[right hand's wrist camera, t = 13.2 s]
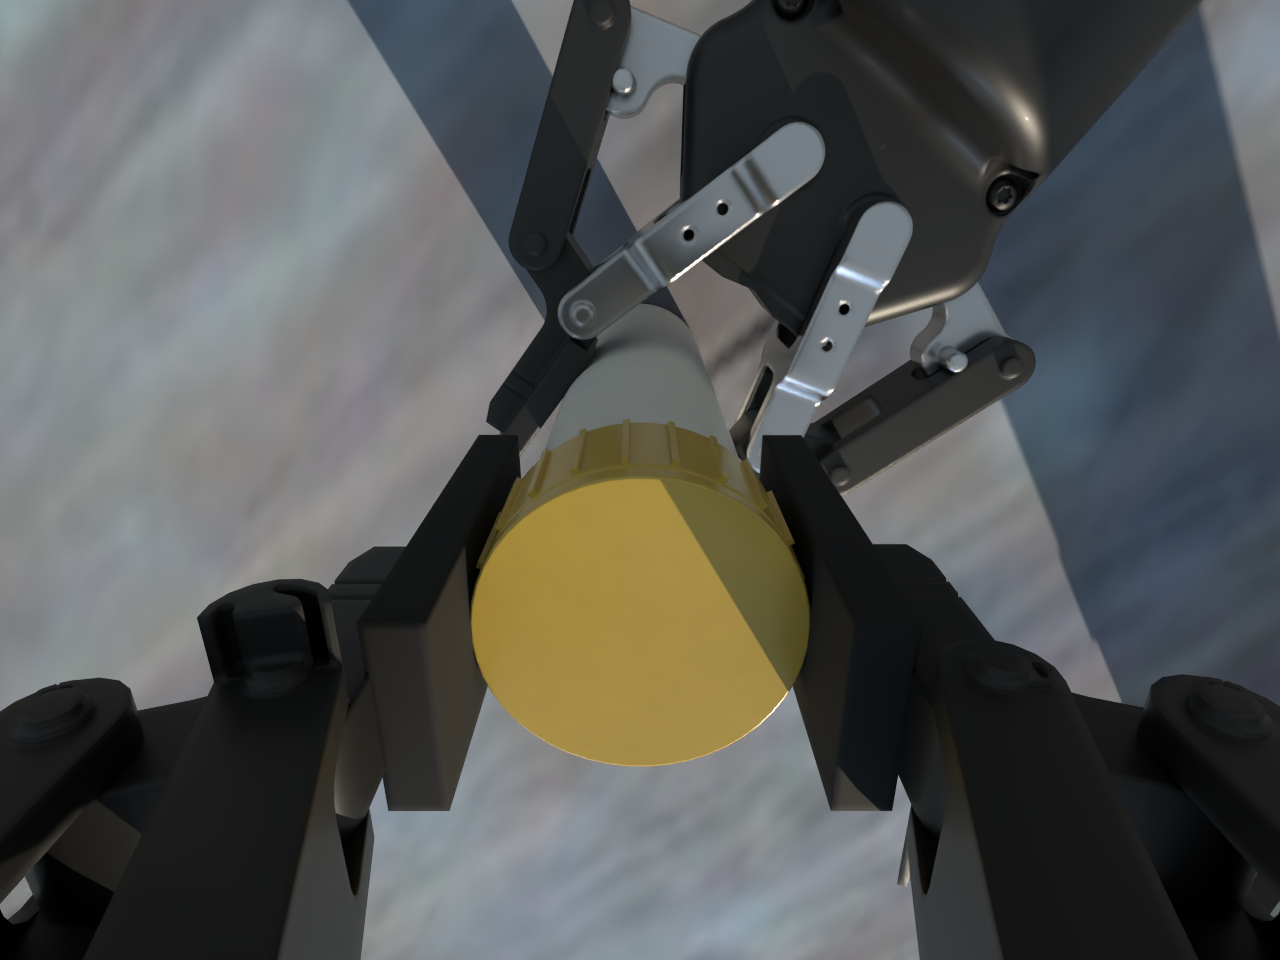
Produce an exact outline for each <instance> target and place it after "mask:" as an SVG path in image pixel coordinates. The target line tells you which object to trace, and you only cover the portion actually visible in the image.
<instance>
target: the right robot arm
mask: <svg viewBox="0 0 1280 960" xmlns="http://www.w3.org/2000/svg"><path fill="white" fill-rule="evenodd" d="M517 477H519V478H520V479H521V472H520V457H519V442H518V435H479V436H478V437H477V439H476V440H475V442H474V443H473V445H472V447H471V448H470V450H469V451H468V453H467V454H466V456H465V457H464V459H463V460H462V462H461V463H460V465H459V466H458V468H457V470H456V471H455V473H454V474H453V476H452V477H451V479H450V480H449V482H448V483H447V485H446V486H445V488H444V490H443V491H442V493H441V494H440V496H439V497H438V499H437V500H436V502H435V503H434V505H433V506H432V508H431V509H430V511H429V513H428V514H427V516H426V517H425V519H424V520H423V522H422V523H421V525H420V526H419V528H418V529H417V531H416V532H415V534H414V536H413V537H412V539H411V540H410V542H409V543H408V545H407V546H406V547H373V548H371V549H370V550H368V551H367V552H365V553H363V554H362V555H360V556H358V557H357V558H355V559H354V560H352V561H350V562H349V563H348V564H347V566H346V567H345V568H344V569H343V571H342V572H341V573H340V575H339V576H338V577H337V578H336V580H335V584H332V585H331V586H330V587H329V589H326V588H325V587H324V586H322V585H321V584H320V583H317V582H312V581H308V580H303V579H278V580H273V581H268V582H263V583H257V584H253V585H250V586H247V587H244V588H242V589H239V590H236V591H233V592H230V593H228V594H227V595H225V596H223V597H221V598H220V599H218V600H216V601H215V602H213V603H211V604H209V605H208V607H207V608H206V609H205V610H204V611H203V612H202V613H201V614H200V615H199V616H198V617H197V619H198V623H199V627H200V631H201V634H202V638H203V642H204V646H205V649H206V653H207V657H208V661H209V664H210V668H211V672H212V676H213V680H214V684H213V686H212V688H211V690H210V692H209V694H208V696H206V697H202V698H198V699H195V700H190V701H185V702H180V703H175V704H170V705H165V706H160V707H155V708H149V709H144V710H139V711H137V708H136V705H135V702H134V699H133V696H132V693H131V690H130V688H128V687H127V686H126V685H124V684H123V683H122V682H121V681H119V680H112V679H105V678H92V679H83V680H72V681H67V682H63V683H60V684H59V685H56V684H55V685H52V686H49V687H46V688H43V689H40V690H39V691H37V692H36V693H34V694H31V695H29V696H27V697H25V698H23V699H20V700H18V701H16V702H14V703H12V704H11V705H9V706H8V707H6V708H5V709H3V710H2V711H0V903H1V902H2V901H3V900H4V899H5V898H6V897H7V895H8V894H9V893H10V892H11V891H12V890H13V889H14V888H15V887H16V885H17V884H18V883H19V882H20V881H21V880H22V879H23V878H24V876H25V878H26V880H27V882H28V884H29V887H30V889H31V891H32V894H33V895H32V896H31V897H30V899H29V900H28V901H27V902H26V903H25V904H24V906H23V907H22V908H21V909H20V910H19V911H18V912H16V913H15V914H14V915H13V916H12V917H10V918H9V919H8V920H7V919H6V918H5V917H4V916H3V914H2V912H1V910H0V960H360V958H361V950H362V941H363V932H364V923H365V915H366V906H367V897H368V888H369V880H370V871H371V862H372V853H373V845H374V833H373V826H372V820H371V815H370V810H369V807H370V805H371V802H372V800H373V798H374V795H375V793H376V791H377V789H378V786H379V784H380V782H381V779H382V777H383V782H384V788H385V794H386V799H387V805H388V811H450V807H451V804H452V801H453V798H454V794H455V791H456V788H457V785H458V781H459V778H460V775H461V771H462V768H463V765H464V762H465V758H466V755H467V752H468V749H469V745H470V742H471V739H472V735H473V732H474V729H475V726H476V722H477V719H478V716H479V713H480V709H481V706H482V703H483V700H484V696H485V693H486V690H487V686H488V685H487V683H486V681H485V680H484V678H483V676H482V673H481V671H480V668H479V666H478V663H477V661H476V658H475V654H474V650H473V643H472V634H471V624H470V607H471V599H472V595H473V590H474V586H475V582H476V580H477V577H478V575H479V572H480V570H481V569H478V568H476V565H477V562H478V560H479V557H480V555H481V553H482V550H483V548H484V546H485V543H486V541H487V539H488V537H489V534H490V532H491V530H492V527H493V525H494V523H495V520H496V518H497V516H498V514H499V512H502V509H503V507H504V505H505V502H506V500H507V498H508V495H509V493H510V491H511V488H512V486H513V484H514V481H515V480H516V479H517ZM759 481H760V482H761V483H762V485H763V486H764V488H765V490H766V492H769V491H771V490H772V492H773V494H774V496H775V498H776V500H777V503H778V505H779V507H780V509H781V512H782V514H783V516H784V519H785V521H786V523H787V526H788V528H789V530H790V532H791V535H792V537H793V539H794V542H795V544H793V545H791V546H792V549H793V551H794V553H795V556H796V558H797V560H798V563H799V565H800V567H801V570H802V572H803V575H804V577H805V584H806V587H807V592H808V597H809V602H810V629H809V638H808V647H807V652H806V656H805V659H804V663H803V665H802V667H801V670H800V672H799V674H798V677H797V679H796V681H795V683H794V684H793V688H794V692H795V695H796V698H797V701H798V705H799V708H800V711H801V715H802V718H803V721H804V724H805V728H806V731H807V734H808V737H809V741H810V744H811V747H812V750H813V754H814V757H815V760H816V764H817V767H818V770H819V773H820V777H821V780H822V783H823V786H824V790H825V793H826V796H827V799H828V803H829V806H830V809H831V811H892V808H893V802H894V796H895V790H896V784H897V779H898V775H899V777H900V779H901V782H902V784H903V786H904V788H905V791H906V793H907V795H908V798H909V800H910V802H911V810H910V815H909V820H908V826H907V831H906V837H905V842H904V848H903V853H902V859H901V864H900V870H899V876H898V883H897V884H899V885H904V886H907V883H908V878H909V873H910V878H911V887H912V895H913V904H914V913H915V921H916V930H917V939H918V948H919V956H920V960H1280V911H1279V914H1278V915H1277V916H1276V917H1273V916H1271V915H1270V914H1269V913H1268V912H1267V911H1266V910H1265V909H1264V908H1263V907H1262V906H1261V905H1260V904H1259V903H1258V902H1257V901H1256V900H1255V898H1254V897H1253V896H1252V895H1251V894H1250V893H1249V890H1250V888H1251V886H1252V884H1253V881H1254V879H1255V877H1256V874H1257V873H1258V874H1259V875H1260V876H1261V877H1262V878H1263V879H1264V880H1265V882H1266V883H1267V884H1268V885H1269V886H1270V887H1271V888H1272V889H1273V890H1274V891H1275V893H1276V894H1277V895H1278V896H1279V897H1280V707H1279V706H1278V705H1276V704H1275V703H1273V702H1271V701H1270V700H1268V699H1267V698H1265V697H1262V696H1260V695H1258V694H1256V693H1253V692H1251V691H1249V690H1247V689H1245V688H1244V687H1242V686H1240V685H1237V684H1234V683H1231V682H1228V681H1225V682H1223V681H1222V680H1221V679H1216V678H1211V677H1201V676H1192V675H1175V676H1168V677H1162V678H1161V679H1159V680H1158V681H1157V682H1155V683H1154V684H1153V685H1151V688H1150V691H1149V695H1148V698H1147V701H1146V704H1145V707H1144V708H1142V707H1137V706H1132V705H1127V704H1122V703H1117V702H1112V701H1107V700H1102V699H1096V698H1091V697H1087V696H1083V695H1079V694H1075V693H1071V691H1070V689H1069V687H1068V685H1067V682H1066V681H1065V679H1064V678H1063V677H1062V676H1061V674H1060V673H1059V672H1058V671H1057V669H1056V668H1055V667H1054V666H1052V665H1051V664H1050V663H1048V662H1047V661H1045V660H1044V659H1042V658H1041V657H1039V656H1038V655H1036V654H1034V653H1032V652H1030V651H1027V650H1025V649H1022V648H1020V647H1018V646H1015V645H1013V644H1008V643H1004V642H999V641H995V640H994V639H993V637H992V636H991V635H990V634H989V632H988V631H987V630H986V628H985V627H984V626H983V625H982V623H981V622H980V621H979V619H978V618H977V617H976V616H975V614H974V613H973V612H972V611H971V609H970V608H969V607H968V605H967V604H966V603H965V602H964V600H963V599H962V598H961V597H958V593H957V591H956V590H955V589H954V588H953V586H952V585H951V584H950V582H946V577H945V576H944V575H943V574H942V572H941V571H940V570H939V568H938V567H937V566H936V565H935V563H934V562H933V561H932V560H931V559H929V558H928V557H926V556H925V555H923V554H921V553H920V552H918V551H916V550H915V549H913V548H912V547H910V546H908V545H907V544H872V543H871V541H870V539H869V538H868V536H867V535H866V533H865V532H864V530H863V529H862V527H861V526H860V524H859V523H858V521H857V520H856V518H855V516H854V515H853V513H852V512H851V510H850V509H849V507H848V506H847V504H846V503H845V501H844V500H843V498H842V496H841V495H840V493H839V492H838V490H837V489H836V487H835V486H834V484H833V483H832V481H831V480H830V478H829V477H828V475H827V473H826V472H825V470H824V469H823V467H822V466H821V464H820V463H819V461H818V460H817V458H816V457H815V455H814V454H813V452H812V450H811V449H810V447H809V446H808V444H807V443H806V441H805V440H804V438H803V437H802V435H762V448H761V463H760V478H759Z"/></svg>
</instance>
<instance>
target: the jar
mask: <svg viewBox="0 0 1280 960" xmlns="http://www.w3.org/2000/svg"><path fill="white" fill-rule="evenodd" d="M596 338H597V339H598V341H597V344H596V348H595V352H594V355H593V357H592V359H591V360H590V362H589V363H588V364H587V366H586V367H585V368H584V370H583V371H582V372H581V374H580V375H579V377H578V378H577V379H576V380H575V381H574V383H573V384H572V385H571V386H570V388H569V390H568V391H567V393H566V394H565V396H564V398H563V400H562V403H561V406H560V409H559V411H558V414H557V417H556V420H555V422H554V425H553V428H552V431H551V433H550V436H549V439H548V442H547V444H546V447H545V449H547V448H548V449H549V450H550V451H551V450H553V449H554V448H555V447H557V446H558V445H560V444H562V443H564V442H566V441H567V440H569V439H571V438H573V437H575V436H577V435H579V432H580V430H581V429H584V428H586V429H587V431H590V430H593V429H597V428H601V427H605V426H609V425H614V424H623V420H624V419H630V423H631V422H641V423H658V424H666V425H667V424H668V421H671V422H675V426H676V427H680V428H683V429H687V430H691V431H693V432H696V433H698V434H700V435H703V436H705V437H708V438H709V436H710V435H713V436H715V437H716V438H717V441H718V444H720V445H722V446H724V447H725V448H727V449H728V450H729V451H731V452H732V453H733V454H734V455H736V456H737V457H738V455H737V452H736V449H735V446H734V444H733V441H732V438H731V435H730V433H729V430H728V427H727V425H726V422H725V419H724V416H723V414H722V411H721V408H720V405H719V403H718V400H717V397H716V394H715V392H714V389H713V386H712V383H711V381H710V378H709V375H708V373H707V370H706V367H705V364H704V362H703V359H702V356H701V353H700V351H699V348H698V345H697V342H696V340H695V338H694V336H693V334H692V332H691V331H690V329H689V328H688V326H687V325H686V324H685V323H684V322H683V321H682V320H681V319H680V318H679V317H677V316H676V315H675V314H673V313H672V312H670V311H668V310H666V309H664V308H662V307H658V306H655V305H650V304H639V305H637V306H636V307H635V308H633V309H632V310H631V311H629V312H628V313H627V314H625V315H624V316H623V317H621V318H620V319H619V320H618V321H616V322H615V323H614V324H612V325H611V326H610V327H608V328H607V329H606V330H604V331H603V332H602V333H600V334H599V335H598V336H597V337H596ZM738 458H739V457H738Z"/></svg>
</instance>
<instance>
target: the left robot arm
mask: <svg viewBox="0 0 1280 960" xmlns="http://www.w3.org/2000/svg"><path fill="white" fill-rule="evenodd" d="M1202 1H1203V0H752V1H751V2H750V3H749V4H748V5H746V6H745V7H743V8H742V9H741V10H739V11H738V12H736V13H734V14H732V15H730V16H728V17H726V18H724V19H722V20H720V21H718V22H716V23H715V24H714V25H712V26H711V27H710V28H709V29H708V30H706V31H705V33H704V34H703V35H699V34H697V33H695V32H692V31H690V30H687V29H685V28H683V27H680V26H678V25H675V24H673V23H671V22H668V21H666V20H663V19H661V18H659V17H656V16H654V15H651V14H649V13H647V12H644V11H642V10H639V9H637V8H635V7H632V6H630V2H629V0H574V2H573V5H572V9H571V13H570V16H569V20H568V24H567V27H566V31H565V35H564V38H563V42H562V46H561V49H560V53H559V56H558V60H557V64H556V67H555V71H554V75H553V78H552V82H551V86H550V89H549V93H548V97H547V100H546V104H545V107H544V111H543V115H542V118H541V122H540V126H539V129H538V133H537V137H536V140H535V144H534V148H533V151H532V155H531V158H530V162H529V166H528V169H527V173H526V177H525V180H524V184H523V188H522V191H521V195H520V199H519V202H518V206H517V210H516V213H515V217H514V220H513V224H512V228H511V231H510V236H509V247H510V251H511V253H512V255H513V257H514V259H515V260H516V261H517V262H518V263H519V264H520V265H522V266H523V267H525V268H526V269H527V271H528V272H529V274H530V275H531V276H532V278H533V279H534V281H535V282H536V284H537V285H538V287H539V288H540V290H541V291H542V293H543V295H544V297H545V300H546V304H547V316H546V320H545V322H544V325H543V326H542V328H541V330H540V331H539V333H538V334H537V335H536V337H535V338H534V340H533V341H532V343H531V344H530V345H529V347H528V348H527V350H526V351H525V353H524V354H523V356H522V357H521V358H520V360H519V361H518V363H517V364H516V366H515V367H514V368H513V370H512V371H511V373H510V374H509V376H508V377H507V379H506V380H505V381H504V383H503V384H502V386H501V387H500V389H499V390H498V391H497V393H496V394H495V396H494V397H493V399H492V400H491V402H490V405H489V410H488V415H487V420H486V422H487V423H489V424H490V425H492V426H493V427H495V428H496V429H498V430H499V431H501V432H500V434H499V435H518V442H519V457H520V456H521V454H522V453H523V452H524V450H525V449H526V448H527V446H528V445H529V443H530V442H531V441H532V439H533V438H534V437H535V435H536V434H537V433H538V431H539V430H540V428H541V427H542V426H543V424H544V423H545V422H546V420H547V419H548V418H549V416H550V415H551V413H552V412H553V411H554V409H555V408H556V407H557V405H558V404H559V402H560V401H561V400H562V398H563V397H564V396H565V394H566V393H567V391H568V390H569V388H570V386H571V385H572V384H573V383H574V381H575V380H576V379H577V378H578V377H579V375H580V374H581V372H582V371H583V370H584V368H585V367H586V366H587V364H588V363H589V362H590V360H591V359H592V357H593V355H594V352H595V348H596V344H597V341H598V339H597V338H596V337H597V336H598V335H599V334H600V333H602V332H603V331H604V330H606V329H607V328H608V327H610V326H611V325H612V324H614V323H615V322H616V321H618V320H619V319H620V318H621V317H623V316H624V315H625V314H627V313H628V312H629V311H631V310H632V309H633V308H635V307H636V306H637V305H639V304H640V303H641V302H643V301H644V300H645V299H647V298H648V297H649V296H651V295H652V294H653V293H655V292H657V291H658V290H661V289H663V288H664V287H666V286H668V285H669V284H671V283H672V282H673V281H675V280H676V279H677V278H679V277H680V276H681V275H683V274H684V273H685V272H687V271H688V270H689V269H691V268H692V267H693V266H695V265H696V264H697V263H699V262H700V261H701V260H702V261H703V262H705V263H706V264H707V265H708V266H710V267H711V268H712V269H713V270H715V271H716V272H717V273H718V274H720V275H721V276H722V277H724V278H727V279H729V280H732V281H734V282H736V283H739V284H741V285H743V286H746V287H748V288H749V289H750V291H751V292H752V293H753V295H754V296H755V298H756V299H757V301H758V302H759V303H760V305H761V306H762V307H763V308H764V309H765V310H766V311H767V312H768V313H769V314H771V315H772V316H773V317H774V318H775V321H774V324H773V326H772V328H771V331H770V333H769V335H768V337H767V340H766V342H765V345H764V348H763V351H762V357H761V363H760V366H759V368H758V371H757V373H756V375H755V378H754V380H753V382H752V385H751V387H750V389H749V391H748V394H747V396H746V398H745V401H744V403H743V405H742V407H741V410H740V412H739V414H738V417H737V419H736V423H735V424H734V425H733V427H732V428H731V429H730V430H729V433H730V435H731V438H732V441H733V444H734V446H735V449H736V452H737V455H738V457H739V458H740V459H741V460H742V461H744V460H745V459H747V460H748V461H749V462H750V463H751V466H752V468H753V471H754V473H755V475H756V477H757V478H758V479H759V478H760V463H761V448H762V435H802V437H803V438H804V440H805V441H806V443H807V444H808V446H809V447H810V449H811V450H812V452H813V454H814V455H815V457H816V458H817V460H818V461H819V463H820V464H821V466H822V467H823V469H824V470H825V472H826V473H827V475H828V477H829V478H830V480H831V481H832V483H833V484H834V486H835V487H836V489H837V490H838V492H839V493H840V495H845V494H847V493H849V492H851V491H853V490H854V489H856V488H858V487H859V486H861V485H863V484H864V483H866V482H867V481H869V480H871V479H872V478H874V477H875V476H877V475H879V474H880V473H882V472H883V471H885V470H887V469H888V468H890V467H892V466H893V465H895V464H896V463H898V462H900V461H901V460H903V459H904V458H906V457H908V456H909V455H911V454H913V453H914V452H916V451H917V450H919V449H921V448H922V447H924V446H925V445H927V444H929V443H930V442H932V441H933V440H935V439H937V438H938V437H940V436H942V435H943V434H945V433H946V432H948V431H950V430H951V429H953V428H954V427H956V426H958V425H959V424H961V423H962V422H964V421H966V420H967V419H969V418H971V417H972V416H974V415H975V414H977V413H979V412H980V411H982V410H983V409H985V408H987V407H988V406H990V405H991V404H993V403H995V402H996V401H998V400H1000V399H1001V398H1003V397H1004V396H1006V395H1008V394H1009V393H1011V392H1012V391H1014V390H1016V389H1017V388H1019V387H1021V386H1022V385H1023V384H1025V383H1026V382H1027V381H1028V380H1029V378H1030V377H1031V375H1032V374H1033V371H1034V369H1035V362H1036V361H1035V356H1034V353H1033V351H1032V350H1031V348H1030V347H1028V346H1027V345H1025V344H1024V343H1021V342H1019V341H1016V340H1015V339H1013V338H1011V337H1010V336H1008V335H1007V334H1006V333H1005V331H1004V329H1003V328H1002V326H1001V324H1000V322H999V320H998V318H997V316H996V315H995V313H994V311H993V309H992V307H991V305H990V303H989V301H988V300H987V298H986V296H985V294H984V292H983V290H982V288H981V287H980V285H979V283H978V281H979V279H980V278H981V276H982V275H983V273H984V272H985V269H986V267H987V265H988V262H989V259H990V256H991V252H992V248H993V245H994V243H995V240H996V238H997V236H998V233H999V231H1000V229H1001V228H1002V226H1003V224H1004V222H1005V221H1006V219H1007V218H1008V217H1009V215H1010V214H1011V213H1012V212H1013V211H1014V210H1015V209H1016V208H1017V207H1018V206H1019V205H1020V204H1021V203H1022V202H1023V201H1024V200H1025V199H1026V198H1027V197H1028V196H1029V195H1030V194H1031V193H1032V192H1033V191H1034V190H1035V189H1036V188H1037V187H1038V186H1039V185H1040V184H1041V183H1042V182H1043V181H1044V180H1045V179H1046V178H1047V177H1048V176H1049V175H1050V174H1051V172H1052V171H1053V170H1054V169H1055V168H1056V167H1057V166H1058V165H1059V163H1060V162H1061V161H1062V160H1063V159H1064V158H1065V157H1066V155H1067V154H1068V153H1069V152H1070V151H1071V150H1072V149H1073V148H1074V146H1075V145H1076V144H1077V143H1078V142H1079V141H1080V140H1081V139H1082V137H1083V136H1084V135H1085V134H1086V133H1087V132H1088V131H1089V129H1090V128H1091V127H1092V126H1093V125H1094V124H1095V123H1096V122H1097V120H1098V119H1099V118H1100V117H1101V116H1102V115H1103V114H1104V112H1105V111H1106V110H1107V109H1108V108H1109V107H1110V106H1111V105H1112V103H1113V102H1114V101H1115V100H1116V99H1117V98H1118V97H1119V95H1120V94H1121V93H1122V92H1123V91H1124V90H1125V89H1126V88H1127V86H1128V85H1129V84H1130V83H1131V82H1132V81H1133V80H1134V79H1135V77H1136V76H1137V75H1138V74H1139V73H1140V72H1141V71H1142V69H1143V68H1144V67H1145V66H1146V65H1147V64H1148V63H1149V62H1150V60H1151V59H1152V58H1153V57H1154V56H1155V55H1156V54H1157V53H1158V51H1159V50H1160V49H1161V48H1162V47H1163V46H1164V45H1165V43H1166V42H1167V41H1168V40H1169V39H1170V38H1171V37H1172V36H1173V34H1174V33H1175V32H1176V31H1177V30H1178V29H1179V28H1180V26H1181V25H1182V24H1183V23H1184V22H1185V21H1186V20H1187V19H1188V17H1189V16H1190V15H1191V14H1192V13H1193V12H1194V11H1195V10H1196V8H1197V7H1198V6H1199V5H1200V4H1201V3H1202ZM669 83H678V84H681V85H684V89H683V118H682V148H681V178H680V198H679V199H678V200H677V201H676V202H674V203H673V204H672V205H671V206H669V207H668V208H667V209H665V210H664V211H663V212H662V213H660V214H659V215H658V216H656V217H655V218H654V219H653V220H651V221H650V222H649V223H648V224H646V225H645V226H644V227H642V228H641V229H640V230H639V231H637V232H636V233H635V234H634V235H633V236H632V237H630V238H629V239H628V240H627V241H626V242H625V243H623V244H622V245H621V246H620V247H618V248H617V249H616V250H614V251H613V252H612V253H611V254H609V255H608V256H607V257H606V258H604V259H603V260H602V261H600V262H599V263H598V264H597V265H595V266H594V267H593V266H592V265H591V263H590V262H589V260H588V258H587V257H586V255H585V254H584V252H583V251H582V249H581V248H580V246H579V245H578V243H577V242H576V240H575V239H574V237H573V233H574V230H575V227H576V223H577V220H578V217H579V214H580V210H581V207H582V204H583V201H584V197H585V194H586V191H587V187H588V184H589V181H590V178H591V174H592V171H593V168H594V164H595V161H596V158H597V155H598V151H599V148H600V145H601V142H602V138H603V135H604V132H605V128H606V125H607V122H608V119H609V115H612V116H614V117H617V118H621V119H628V118H632V117H634V116H636V115H638V114H639V113H640V112H641V111H642V110H643V109H644V108H645V106H646V105H647V103H648V101H649V98H650V97H651V95H652V94H653V92H654V91H655V90H656V89H658V88H659V87H661V86H663V85H665V84H669ZM932 306H933V314H932V318H931V320H930V322H929V324H928V325H927V326H926V328H925V329H924V330H923V331H921V332H920V333H919V334H918V335H917V336H916V337H915V339H914V340H913V342H912V345H911V349H910V356H911V360H910V361H908V362H907V363H905V364H904V365H902V366H900V367H899V368H897V369H896V370H894V371H893V372H891V373H890V374H888V375H887V376H885V377H884V378H882V379H881V380H879V381H877V382H876V383H874V384H873V385H871V386H870V387H868V388H867V389H865V390H864V391H862V392H861V393H859V394H858V395H856V396H854V397H853V398H851V399H850V400H848V401H847V402H845V403H844V404H842V405H841V406H839V407H838V408H836V409H835V410H833V411H831V412H830V413H828V414H827V415H825V416H824V417H822V418H821V419H819V420H818V421H816V422H815V423H811V421H812V419H813V417H814V414H815V412H816V410H817V408H818V406H819V405H820V403H821V402H822V401H823V400H825V399H826V398H828V397H829V396H830V394H831V393H832V392H833V390H834V388H835V386H836V384H837V382H838V380H839V378H840V376H841V374H842V372H843V370H844V368H845V366H846V363H847V361H848V359H849V357H850V355H851V353H852V351H853V349H854V347H855V345H856V343H857V341H858V339H859V336H860V334H861V332H862V330H863V328H864V327H866V326H869V325H873V324H876V323H879V322H883V321H886V320H889V319H893V318H896V317H899V316H902V315H906V314H909V313H912V312H916V311H919V310H922V309H926V308H929V307H932ZM826 341H827V345H826V346H824V347H822V344H823V343H824V342H826ZM1249 893H1250V894H1251V895H1252V896H1253V897H1254V898H1255V900H1256V901H1257V902H1258V903H1259V904H1260V905H1261V906H1262V907H1263V908H1264V909H1265V910H1266V911H1267V912H1268V913H1269V914H1270V915H1271V916H1273V917H1276V916H1277V915H1278V914H1279V911H1280V897H1279V896H1278V895H1277V894H1276V893H1275V891H1274V890H1273V889H1272V888H1271V887H1270V886H1269V885H1268V884H1267V883H1266V882H1265V880H1264V879H1263V878H1262V877H1261V876H1260V875H1259V874H1258V873H1257V874H1256V877H1255V879H1254V881H1253V884H1252V886H1251V888H1250V890H1249Z"/></svg>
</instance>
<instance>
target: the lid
mask: <svg viewBox="0 0 1280 960" xmlns="http://www.w3.org/2000/svg"><path fill="white" fill-rule="evenodd" d="M793 544H795V542H794V539H793V537H792V535H791V532H790V530H789V528H788V526H787V523H786V521H785V519H784V516H783V514H782V512H781V509H780V507H779V505H778V503H777V500H776V498H775V496H774V494H773V492H772V490H771V491H769V492H766V490H765V488H764V486H763V485H762V483H761V482H760V481H759V479H758V478H757V477H756V475H755V473H754V471H753V468H752V466H751V463H750V462H749V461H748V460H747V459H745V460H744V461H742V460H741V459H740V458H738V457H737V456H736V455H734V454H733V453H732V452H731V451H729V450H728V449H727V448H725V447H724V446H722V445H720V444H718V441H717V438H716V437H715V436H713V435H710V436H709V438H708V437H705V436H703V435H700V434H698V433H696V432H693V431H691V430H687V429H683V428H680V427H676V426H675V422H671V421H668V424H667V425H666V424H658V423H641V422H631V423H630V419H624V420H623V424H614V425H609V426H605V427H601V428H597V429H593V430H590V431H587V429H586V428H584V429H581V430H580V432H579V435H577V436H575V437H573V438H571V439H569V440H567V441H566V442H564V443H562V444H560V445H558V446H557V447H555V448H554V449H553V450H551V451H550V450H549V449H548V448H547V449H545V450H544V451H543V452H542V454H541V457H540V460H539V461H538V462H537V463H536V464H535V465H534V466H533V467H532V468H531V469H530V470H529V471H528V472H527V474H526V475H525V476H524V477H523V479H520V478H519V477H517V479H516V480H515V481H514V484H513V486H512V488H511V491H510V493H509V495H508V498H507V500H506V502H505V505H504V507H503V509H502V512H499V514H498V516H497V518H496V520H495V523H494V525H493V527H492V530H491V532H490V534H489V537H488V539H487V541H486V543H485V546H484V548H483V550H482V553H481V555H480V557H479V560H478V562H477V565H476V568H478V569H481V570H480V572H479V575H478V577H477V580H476V582H475V586H474V590H473V595H472V599H471V607H470V624H471V634H472V643H473V650H474V654H475V658H476V661H477V663H478V666H479V668H480V671H481V673H482V676H483V678H484V680H485V681H486V683H487V685H488V687H489V688H490V690H491V692H492V693H493V695H494V696H495V697H496V699H497V700H498V701H499V703H500V704H501V705H502V706H503V708H504V709H505V710H506V711H507V712H508V713H509V714H510V715H511V716H512V717H513V718H514V719H515V720H516V721H517V722H518V723H519V724H521V725H522V726H523V727H525V728H526V729H527V730H528V731H530V732H531V733H532V734H534V735H535V736H537V737H539V738H540V739H542V740H544V741H545V742H547V743H549V744H550V745H552V746H555V747H557V748H559V749H561V750H563V751H565V752H568V753H570V754H573V755H576V756H579V757H582V758H585V759H588V760H593V761H597V762H602V763H606V764H614V765H623V766H657V765H668V764H673V763H678V762H683V761H688V760H692V759H695V758H698V757H701V756H705V755H708V754H710V753H713V752H715V751H717V750H720V749H722V748H724V747H726V746H728V745H730V744H732V743H733V742H735V741H737V740H739V739H740V738H742V737H744V736H745V735H747V734H748V733H749V732H751V731H752V730H753V729H755V728H756V727H757V726H759V725H760V724H761V723H762V722H763V721H764V720H765V719H766V718H767V717H768V716H770V715H771V714H772V713H773V712H774V710H775V709H776V708H777V707H778V706H779V704H780V703H781V702H782V701H783V700H784V698H785V697H786V696H787V694H788V692H789V691H790V689H791V687H792V686H793V684H794V683H795V681H796V679H797V677H798V674H799V672H800V670H801V667H802V665H803V663H804V659H805V656H806V652H807V647H808V638H809V629H810V602H809V597H808V592H807V587H806V584H805V577H804V575H803V572H802V570H801V567H800V565H799V563H798V560H797V558H796V556H795V553H794V551H793V549H792V546H791V545H793Z"/></svg>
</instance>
